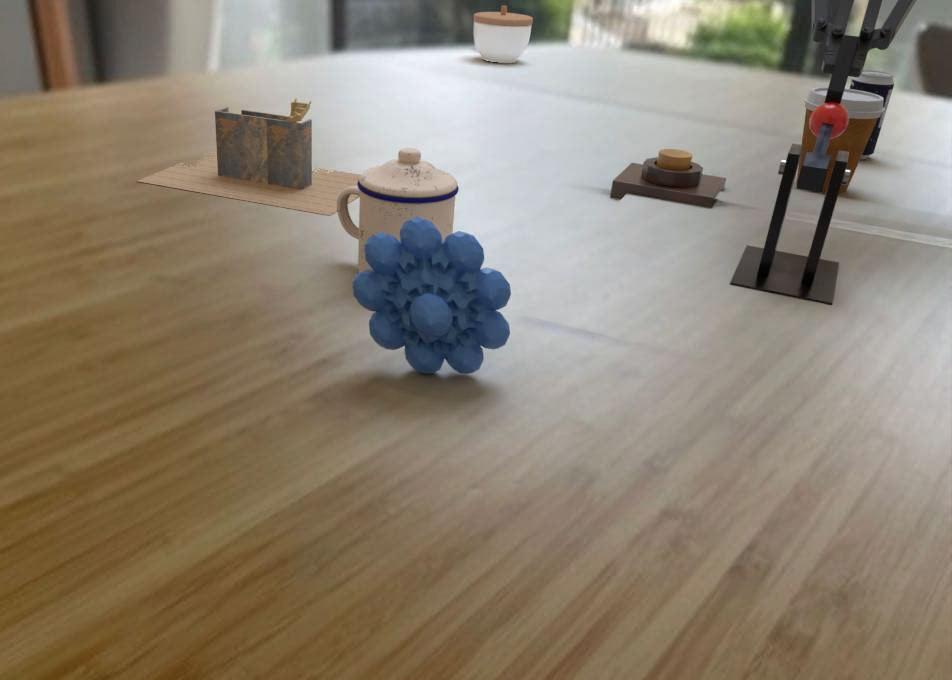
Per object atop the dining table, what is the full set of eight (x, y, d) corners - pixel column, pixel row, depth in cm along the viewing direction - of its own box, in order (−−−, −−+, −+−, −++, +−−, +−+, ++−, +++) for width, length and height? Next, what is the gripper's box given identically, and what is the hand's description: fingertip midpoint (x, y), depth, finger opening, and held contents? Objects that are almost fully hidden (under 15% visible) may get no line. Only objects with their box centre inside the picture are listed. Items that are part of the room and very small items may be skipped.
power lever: (808, 127, 93) (816, 93, 91) (845, 132, 92) (855, 98, 90) (786, 193, 84) (795, 157, 82) (827, 200, 83) (838, 164, 80)
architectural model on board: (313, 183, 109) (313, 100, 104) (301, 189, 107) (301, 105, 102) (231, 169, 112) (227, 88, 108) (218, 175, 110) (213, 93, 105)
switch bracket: (744, 255, 95) (774, 132, 89) (835, 273, 92) (873, 146, 85) (727, 294, 85) (759, 158, 79) (828, 315, 82) (871, 175, 76)
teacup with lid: (468, 270, 87) (478, 148, 81) (421, 300, 80) (429, 170, 74) (363, 243, 92) (366, 127, 86) (310, 269, 85) (310, 145, 79)
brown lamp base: (722, 195, 114) (729, 163, 112) (709, 216, 106) (717, 182, 104) (628, 179, 118) (634, 148, 117) (609, 198, 110) (615, 165, 109)
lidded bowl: (499, 54, 204) (504, 1, 199) (540, 63, 196) (546, 8, 191) (458, 57, 197) (462, 3, 192) (499, 67, 189) (504, 10, 183)
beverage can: (843, 149, 140) (865, 68, 134) (878, 157, 136) (903, 74, 131) (824, 153, 137) (847, 70, 131) (860, 162, 133) (885, 77, 127)
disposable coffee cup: (784, 191, 117) (808, 96, 111) (782, 173, 125) (805, 83, 119) (862, 202, 115) (892, 105, 109) (856, 183, 123) (883, 91, 117)
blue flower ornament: (342, 394, 65) (345, 233, 59) (354, 352, 70) (358, 202, 65) (505, 407, 64) (524, 247, 58) (504, 364, 70) (521, 214, 64)
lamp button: (692, 166, 112) (695, 152, 111) (686, 173, 108) (689, 159, 107) (659, 161, 113) (662, 147, 112) (653, 168, 110) (655, 153, 109)
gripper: (947, -62, 96) (896, 130, 91) (817, -71, 100) (762, 111, 96) (968, -119, 89) (914, 86, 84) (827, -127, 94) (768, 67, 89)
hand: (833, 99), depth 90 cm, fingers closed
